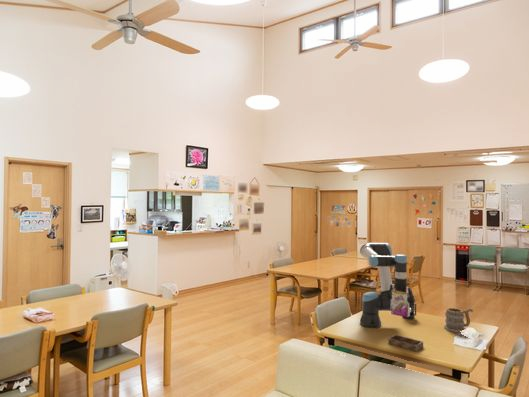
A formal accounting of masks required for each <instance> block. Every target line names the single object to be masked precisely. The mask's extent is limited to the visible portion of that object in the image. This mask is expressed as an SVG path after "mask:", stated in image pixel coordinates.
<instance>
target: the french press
mask: <svg viewBox="0 0 529 397" xmlns="http://www.w3.org/2000/svg"><path fill="white" fill-rule="evenodd" d="M416 316H417V304H416V303H415V302H413V303H412V308H411V312H410V316H409V317H403V316H401V317H402V318H403V319H407V320H414V319H416V318H415V317H416Z"/></svg>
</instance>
